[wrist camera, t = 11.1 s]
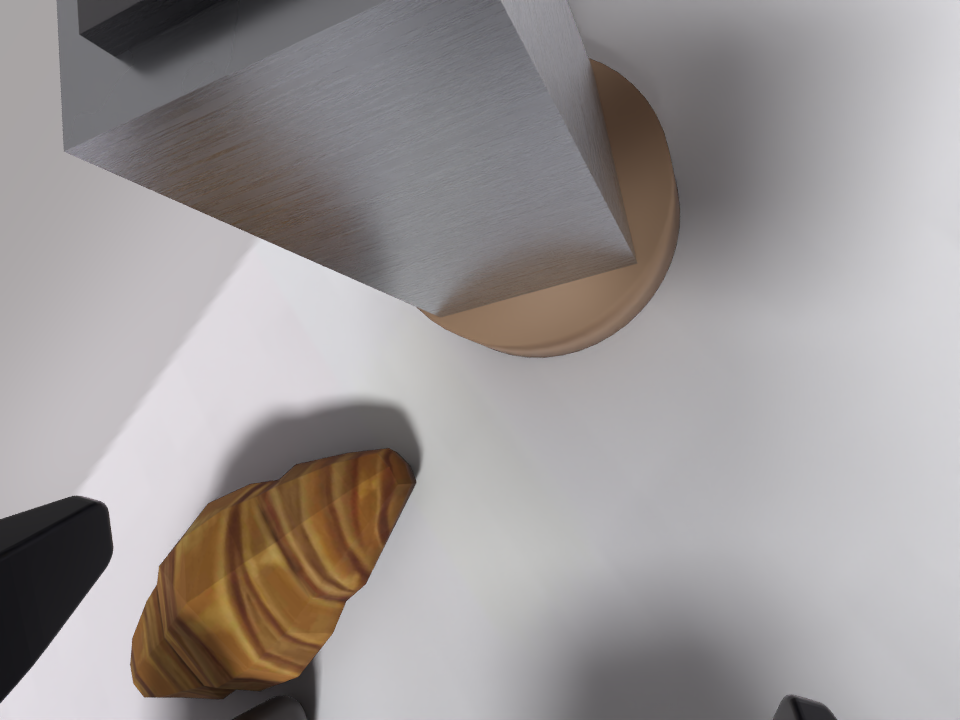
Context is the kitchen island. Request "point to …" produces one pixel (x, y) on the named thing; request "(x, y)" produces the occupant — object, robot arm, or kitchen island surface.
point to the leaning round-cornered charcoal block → (275, 710)
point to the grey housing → (361, 133)
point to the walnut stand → (610, 295)
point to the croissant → (267, 576)
